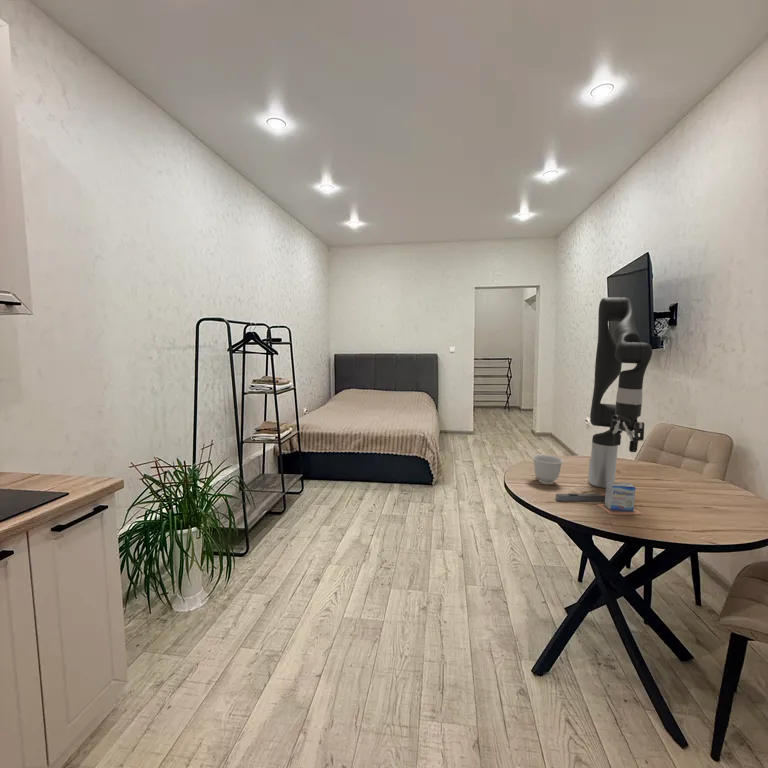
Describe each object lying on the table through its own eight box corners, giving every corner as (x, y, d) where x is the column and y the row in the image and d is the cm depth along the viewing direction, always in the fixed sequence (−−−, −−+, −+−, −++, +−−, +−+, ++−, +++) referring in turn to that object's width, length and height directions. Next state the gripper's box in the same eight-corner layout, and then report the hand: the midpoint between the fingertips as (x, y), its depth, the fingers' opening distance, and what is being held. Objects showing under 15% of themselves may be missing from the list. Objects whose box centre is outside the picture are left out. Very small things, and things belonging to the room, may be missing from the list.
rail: (555, 499, 152) (556, 487, 151) (618, 499, 153) (619, 487, 153) (558, 501, 150) (559, 489, 149) (621, 501, 151) (622, 489, 151)
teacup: (552, 475, 179) (554, 453, 178) (566, 487, 164) (568, 463, 163) (524, 474, 179) (525, 452, 178) (536, 486, 164) (538, 462, 163)
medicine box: (609, 510, 142) (611, 485, 141) (604, 505, 146) (606, 481, 145) (633, 511, 141) (636, 487, 140) (627, 506, 146) (629, 482, 145)
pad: (597, 505, 147) (597, 503, 147) (626, 504, 148) (626, 503, 148) (610, 514, 139) (610, 513, 139) (641, 514, 140) (641, 513, 140)
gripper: (605, 398, 146) (601, 443, 148) (632, 404, 132) (627, 454, 134) (625, 398, 147) (621, 443, 149) (654, 405, 133) (649, 454, 134)
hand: (624, 448), depth 141 cm, fingers open, 8 cm apart
